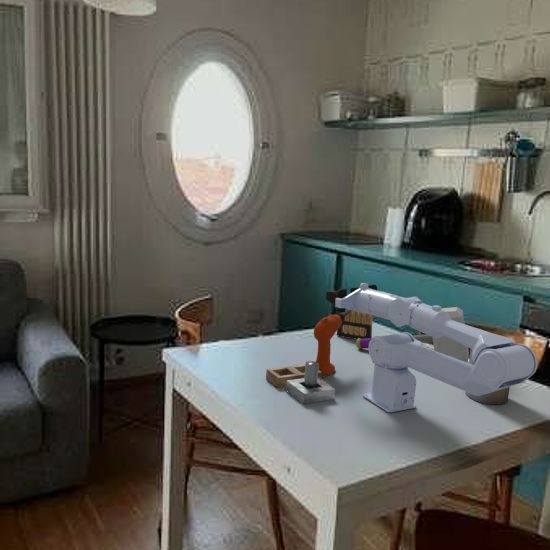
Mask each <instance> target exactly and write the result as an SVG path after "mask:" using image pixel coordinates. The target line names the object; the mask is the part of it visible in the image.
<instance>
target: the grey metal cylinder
mask: <svg viewBox="0 0 550 550" xmlns="http://www.w3.org/2000/svg"><path fill="white" fill-rule="evenodd" d="M304 365H305V376H304V387H305V388H307V389H312V388H317V380H318V368H319V363H317V362H316V361H313V360H312V361H311V360H309V361H305V364H304Z"/></svg>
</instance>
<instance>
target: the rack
mask: <svg viewBox="0 0 550 550" xmlns="http://www.w3.org/2000/svg"><path fill="white" fill-rule="evenodd" d="M265 373H266V374H265V379H266V380H267V381H268V380H269V381H268V382H270V383H271V384H272V383H273V384H272V385H273V386H275V387H276V386H277V387H279V388H286V387H285V386H286V381H287V380H294V379H301V378H304V376H305V364H298V365H290V366H282V367H281V366H280V367H274V368H266V371H265ZM322 377H323V376H322V372H321V371H319V370H318V378H319V379H320V380H322ZM277 387H276V388H277Z"/></svg>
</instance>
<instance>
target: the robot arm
mask: <svg viewBox="0 0 550 550" xmlns="http://www.w3.org/2000/svg"><path fill="white" fill-rule="evenodd" d="M325 299H326V301H328V302H329V303H330V304H331V305H332V306H334V309H335V311H336V312H337V313H343V312H346V308H347V309H350V311H352V310H353V311H356V313H357V312H360V313H362V314H363V313H367V315H368V314H370V315H373V317H377V318H382V319H385V320H389V321H390V322H391V323H392V324H393V325H394V326H396V327H398V328H401V327H404V326H408V327H410V328H412V329H414V330H416V331H419V332H421V333H423V334H424V335H426V334H428V335H430V336H432V337H434V338H441V337H443V336H446V337H448V338H450V339H452V340H454V341H456V342H458V343H460V344H462V345H464V346H466V347H468V349H470V350H471V349H472V361H473V362H475V364H474V365H472V364H469V362H467V363H466V362H464V361H461V360H458V359H456V358H453V357H450V356H447V355H445V354H442V353H439V352H437V351H434V349H430V348H428V347H425V346H423V343H422V342H421V341H418V340H416V339H415V338H414V337H413V336H414V335H413V334H411V333H410V332H407V331H401V333H393V334H387V335H375V336H373V337H372V339H371V340H370V342H369V348H367V349H368V353H369V354H368V355H369V357H370V359H371V362H372V363H373V364H374V366H373V373H372V374H373V377H372V385H371V392H368V393H364V394H363V395H362V397H363V398H365V399H367V401H369V402H371V403H373V404H374V405H376V406H378V407H379V408H380V409H382V410H384V411H386V412H387V413H395V412H401V411H405V410H410V409H416V408H417V404H415V397H416V389H417V378H416V376H415V374H413V373H412V372H411V371H410V369H411V370H413V371H417V372H419V373H421V374H423V375H426V376H428V377H430V378H433V379H435V380H438V381H439V382H442V383H445V384H447V385H449V386H451V387H454V388H456V389H459V390H461V391H463V392H465V393H466V392H468V393H470V394H473V395H476V396H480V395H484V394H488V393H492V392H495V391H498V390H501V389H504V388H507V387H510V388H511V387H512V386H514V387H515V386H517V385H520V384H524V383H525V382H526V381H528V379H530V377H532V376H533V375H534V374H535V373H536V371H537V368H538V358H537V355H536V353H535V352H534V351H533V349H532V348H531V347H529V345H526V344H523V343H516V342H517V341H516V340H514V339H512V338H510V337H506V336H503V335H500V334H498V333H497V334H496V333H493V332H489V331H486V330H483V329H481V328H478V327H477V328H476V327H474V326H472V325H471V326H470V325H468V324H462V323H459V322H456V321H453V320H451V318H450V315H449V314H448V313H447V312H446V311H443V310H441V308H442V306H441V305H438V304H435V305H429V304H427V303H424V302H423V300H422V299H420V298H419V296H411V297H404V296H399V295H397V294H394V293H388V292H386V291H382V290H381V291H380V290H378V286H377V284H368V282H362V283H360V284H359V287H351V288H350V294H348V288H340V289H337V290H329V291H325ZM511 343H514V345H511Z"/></svg>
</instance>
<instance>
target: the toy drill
mask: <svg viewBox="0 0 550 550" xmlns="http://www.w3.org/2000/svg"><path fill="white" fill-rule="evenodd" d="M351 312H352V310H347V311H346V310H345V312H344V313H343V314H342V313H339V312H337V313H336V314H329V315H328V316H326V317H323V318H321V319H320V320H319V321H318V322H317V324H316V325H314V326H315V327H314V329H313V336H314V338H315V339H316V341H317V355H316V358H315V359H316V360H315V362H317V363H319V368H318V370H319V371H321V372H322V377H326V376H329V374H330V375H332V374H333V373H334V372H335V370H336V366H335V365H334V364H333V363H332V362H331V339H333V337H334V335H335V334H337V330H338V329H339V328H340V326H341V324H342V322H343V321H344V320H345V316H346V315H348V314H349V313H350V314H351ZM331 373H332V374H331Z"/></svg>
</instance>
